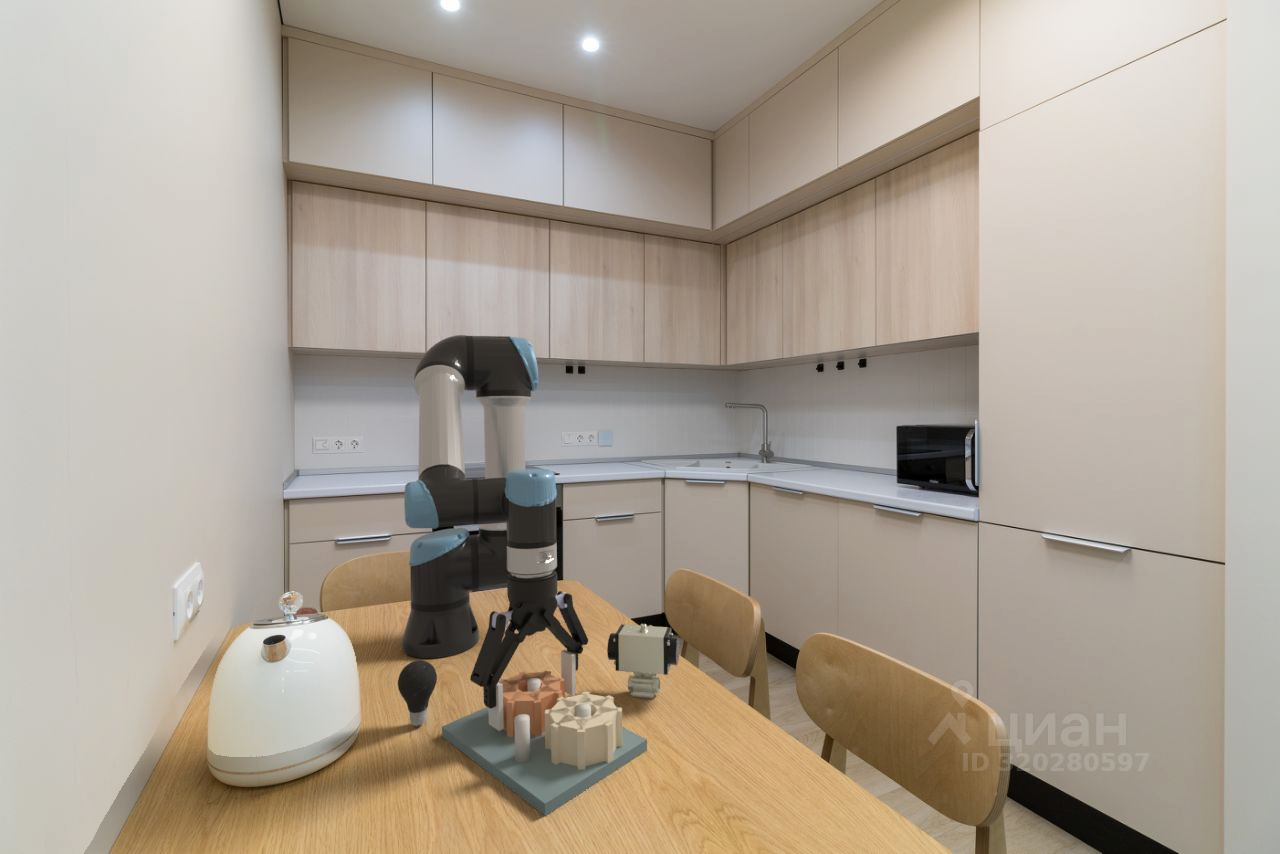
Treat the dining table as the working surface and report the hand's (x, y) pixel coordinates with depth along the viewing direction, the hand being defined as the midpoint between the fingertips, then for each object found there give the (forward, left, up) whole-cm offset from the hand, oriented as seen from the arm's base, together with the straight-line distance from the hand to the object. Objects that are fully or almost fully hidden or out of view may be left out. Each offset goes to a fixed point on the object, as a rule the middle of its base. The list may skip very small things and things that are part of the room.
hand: (534, 708), depth 88 cm
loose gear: (0, -1, -1) cm, 1 cm away
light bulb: (-13, -12, -3) cm, 18 cm away
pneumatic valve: (+6, +19, -3) cm, 20 cm away
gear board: (+5, -2, -3) cm, 6 cm away
